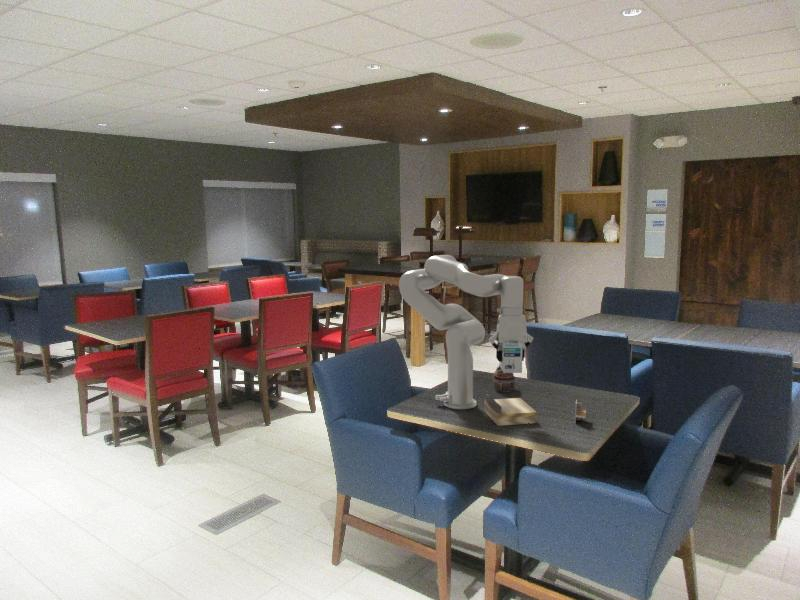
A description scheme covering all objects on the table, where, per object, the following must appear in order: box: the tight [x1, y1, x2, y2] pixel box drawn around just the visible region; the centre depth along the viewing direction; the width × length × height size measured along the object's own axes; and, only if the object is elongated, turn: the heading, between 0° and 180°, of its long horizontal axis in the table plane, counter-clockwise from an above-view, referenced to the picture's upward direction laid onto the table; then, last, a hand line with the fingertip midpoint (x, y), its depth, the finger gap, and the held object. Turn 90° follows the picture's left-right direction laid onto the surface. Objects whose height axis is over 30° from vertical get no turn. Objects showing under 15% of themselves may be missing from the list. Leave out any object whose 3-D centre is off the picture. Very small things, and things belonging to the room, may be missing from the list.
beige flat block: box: [483, 393, 538, 426], centre depth 211 cm, size 14×16×6 cm
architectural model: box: [574, 399, 587, 424], centre depth 205 cm, size 3×7×7 cm, turn 161°
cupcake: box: [491, 364, 517, 393], centre depth 243 cm, size 10×10×10 cm
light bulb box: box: [498, 342, 523, 374], centre depth 208 cm, size 11×7×11 cm, turn 179°
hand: (510, 360), depth 208 cm, fingers closed on light bulb box, 7 cm apart
